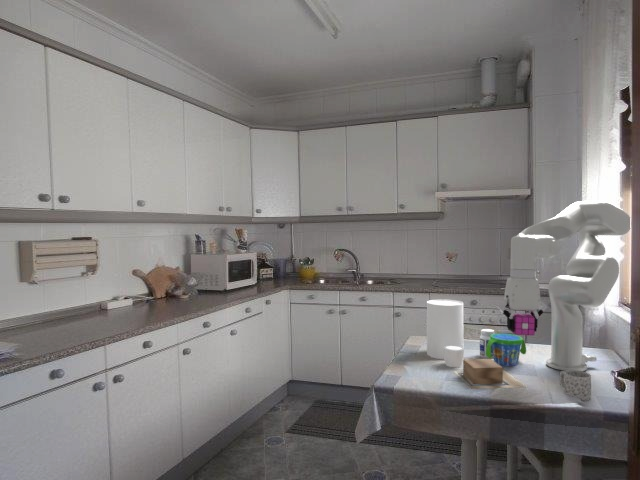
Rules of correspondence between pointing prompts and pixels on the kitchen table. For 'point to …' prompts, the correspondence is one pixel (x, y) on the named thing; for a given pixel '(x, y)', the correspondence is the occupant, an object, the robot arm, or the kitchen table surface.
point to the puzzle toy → (524, 324)
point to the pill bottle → (485, 342)
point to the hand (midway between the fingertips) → (522, 330)
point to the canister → (443, 326)
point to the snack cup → (506, 348)
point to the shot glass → (453, 356)
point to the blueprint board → (507, 383)
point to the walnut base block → (482, 371)
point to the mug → (576, 384)
